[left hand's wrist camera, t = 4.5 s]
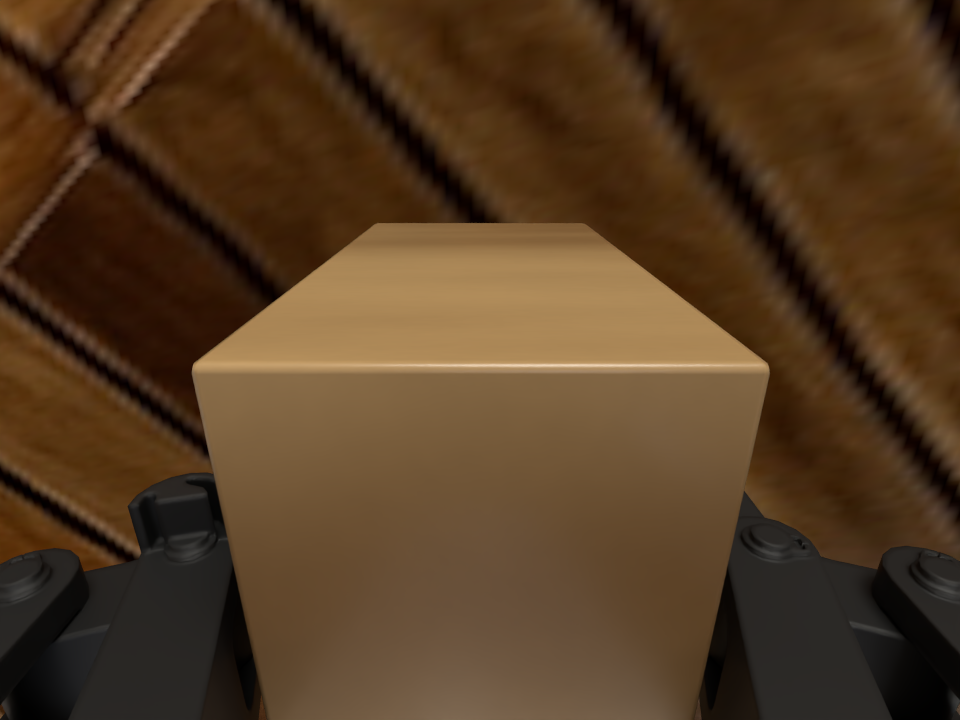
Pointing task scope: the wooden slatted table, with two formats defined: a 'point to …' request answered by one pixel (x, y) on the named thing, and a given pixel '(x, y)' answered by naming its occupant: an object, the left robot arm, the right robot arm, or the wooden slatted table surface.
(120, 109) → the wooden slatted table surface
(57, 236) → the wooden slatted table surface
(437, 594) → the bar
